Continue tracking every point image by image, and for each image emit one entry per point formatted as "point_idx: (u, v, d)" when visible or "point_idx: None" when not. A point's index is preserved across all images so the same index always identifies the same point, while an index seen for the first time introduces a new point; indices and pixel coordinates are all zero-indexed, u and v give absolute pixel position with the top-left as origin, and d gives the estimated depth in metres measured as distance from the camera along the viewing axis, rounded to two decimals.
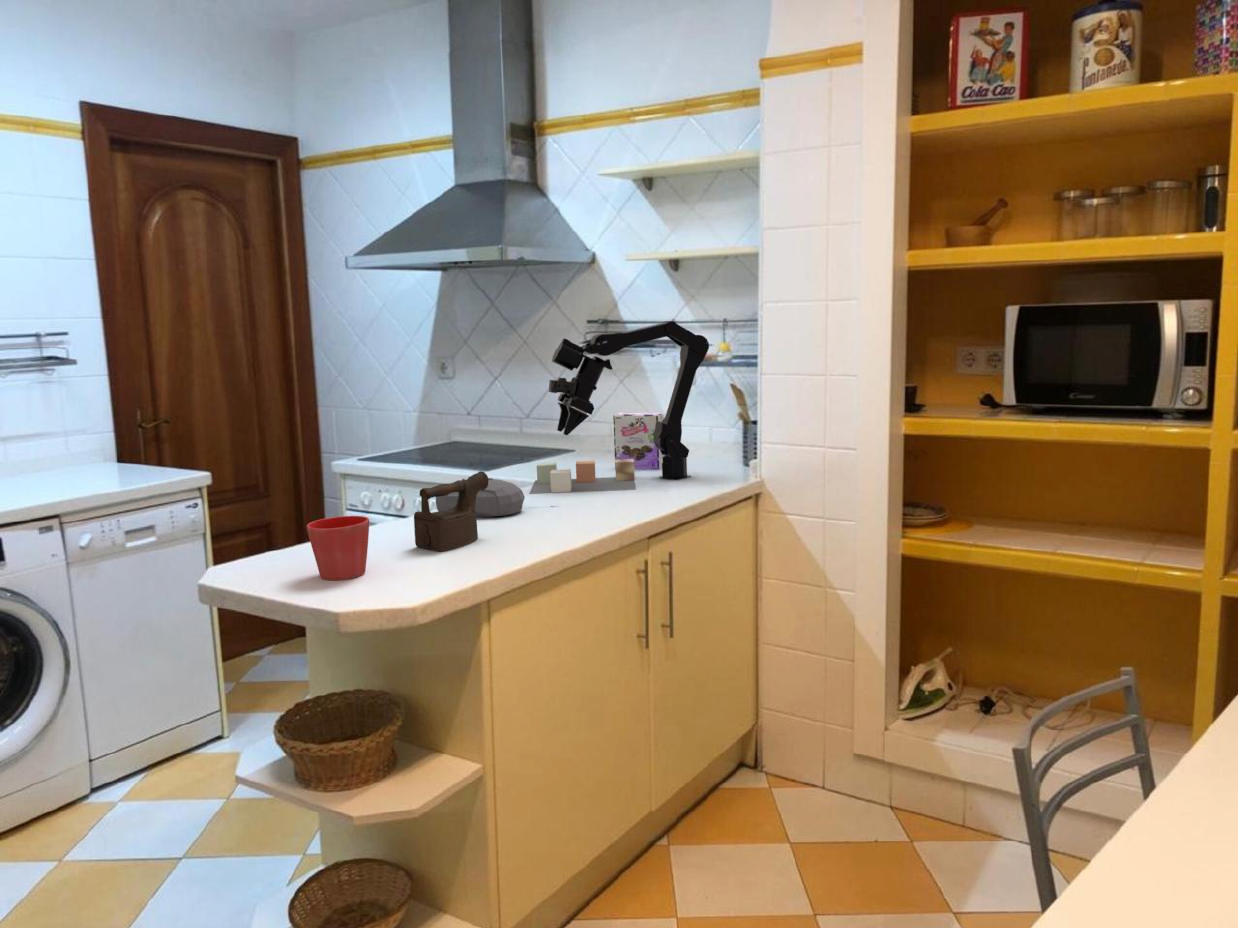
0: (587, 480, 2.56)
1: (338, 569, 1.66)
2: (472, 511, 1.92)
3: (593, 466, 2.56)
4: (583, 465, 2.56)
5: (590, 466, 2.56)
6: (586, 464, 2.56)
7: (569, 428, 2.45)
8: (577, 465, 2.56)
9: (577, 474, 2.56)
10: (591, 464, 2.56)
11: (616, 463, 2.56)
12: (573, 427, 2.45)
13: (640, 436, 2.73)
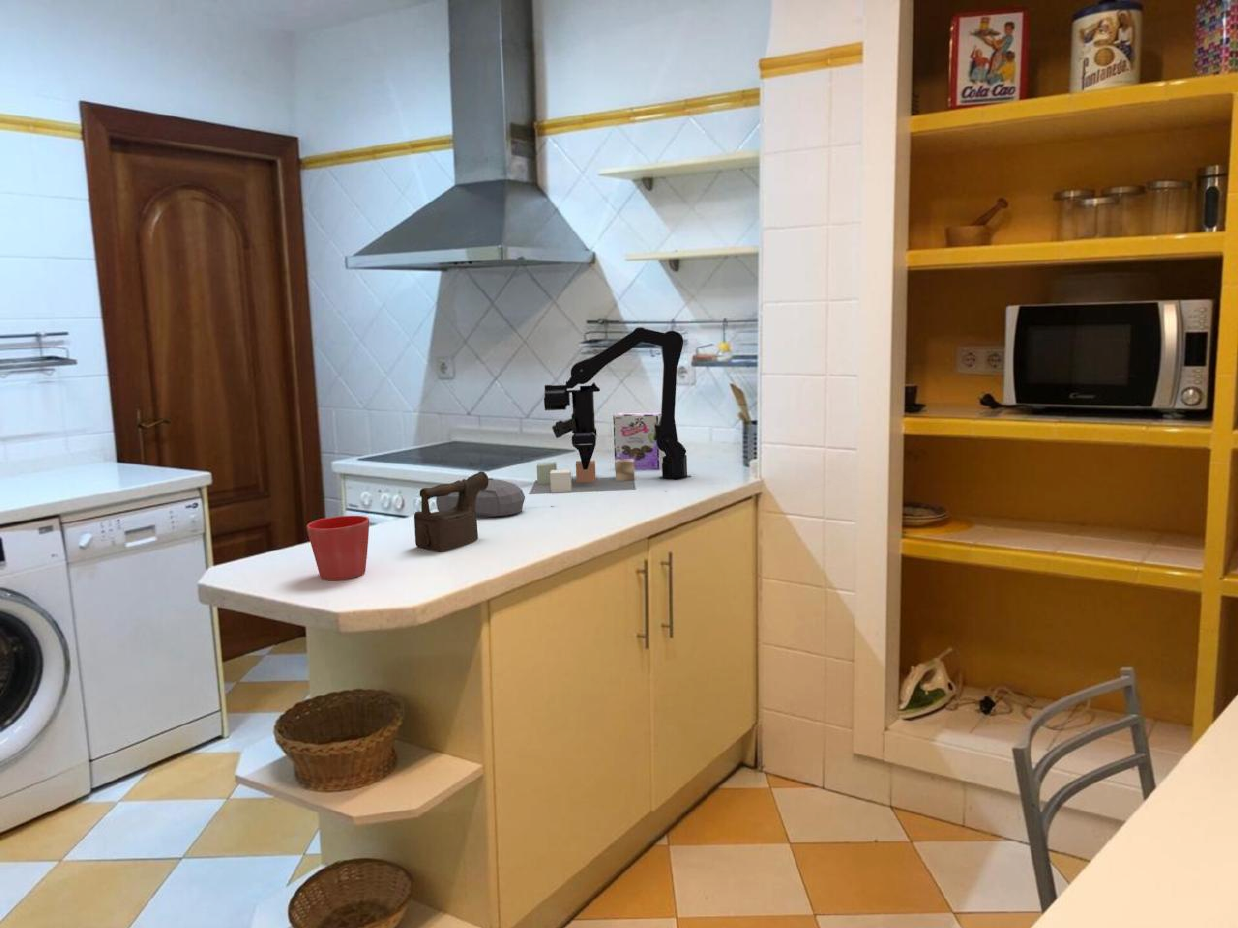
0: (587, 480, 2.56)
1: (338, 569, 1.66)
2: (472, 511, 1.92)
3: (593, 466, 2.56)
4: None
5: (590, 466, 2.56)
6: None
7: (585, 462, 2.53)
8: (577, 465, 2.56)
9: (577, 474, 2.56)
10: (591, 464, 2.56)
11: (616, 463, 2.56)
12: (588, 460, 2.52)
13: (640, 436, 2.73)
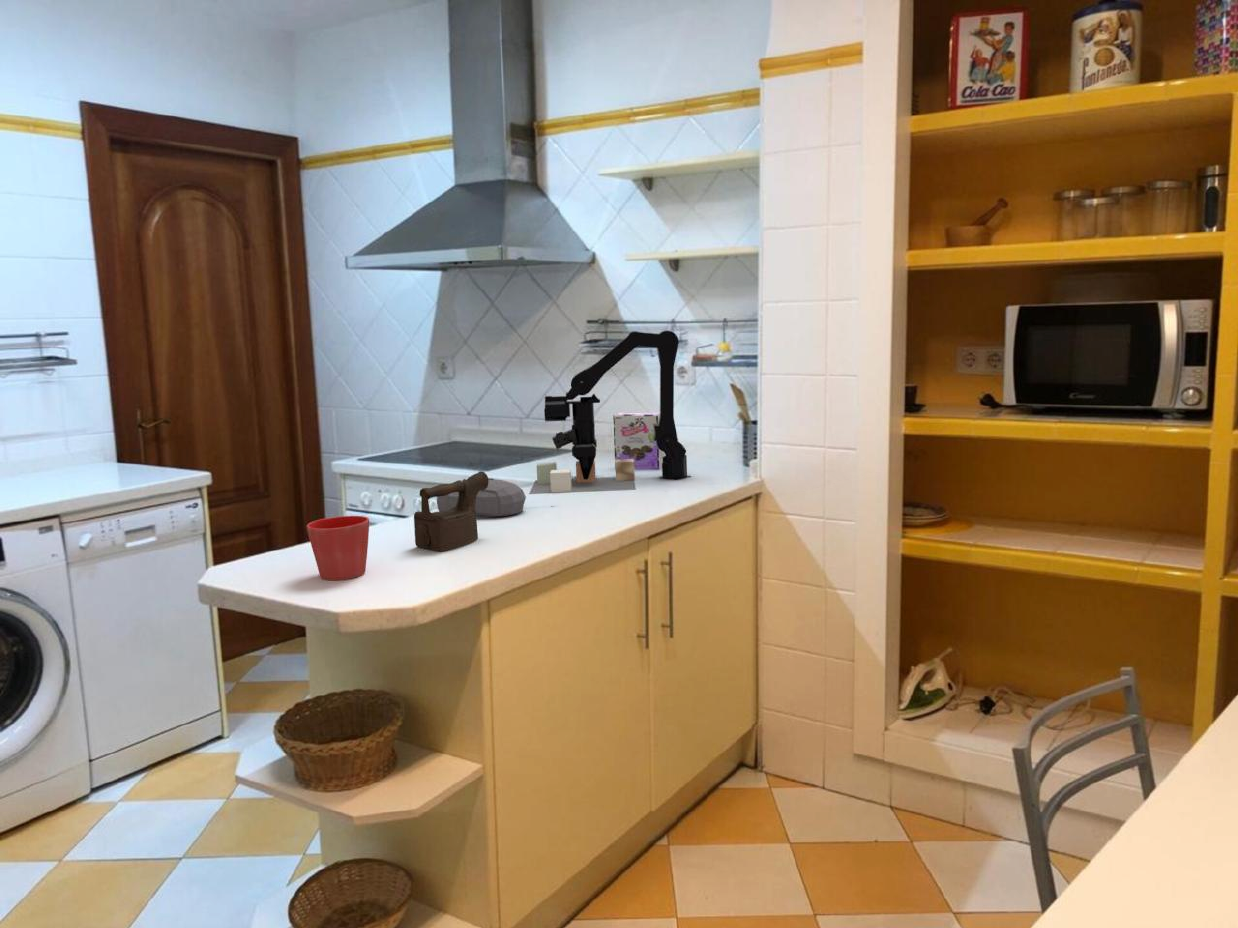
0: (587, 480, 2.56)
1: (338, 569, 1.66)
2: (472, 511, 1.92)
3: (593, 466, 2.56)
4: None
5: None
6: None
7: (586, 472, 2.55)
8: (577, 465, 2.56)
9: (577, 474, 2.56)
10: None
11: (616, 463, 2.56)
12: (588, 470, 2.55)
13: (640, 436, 2.73)
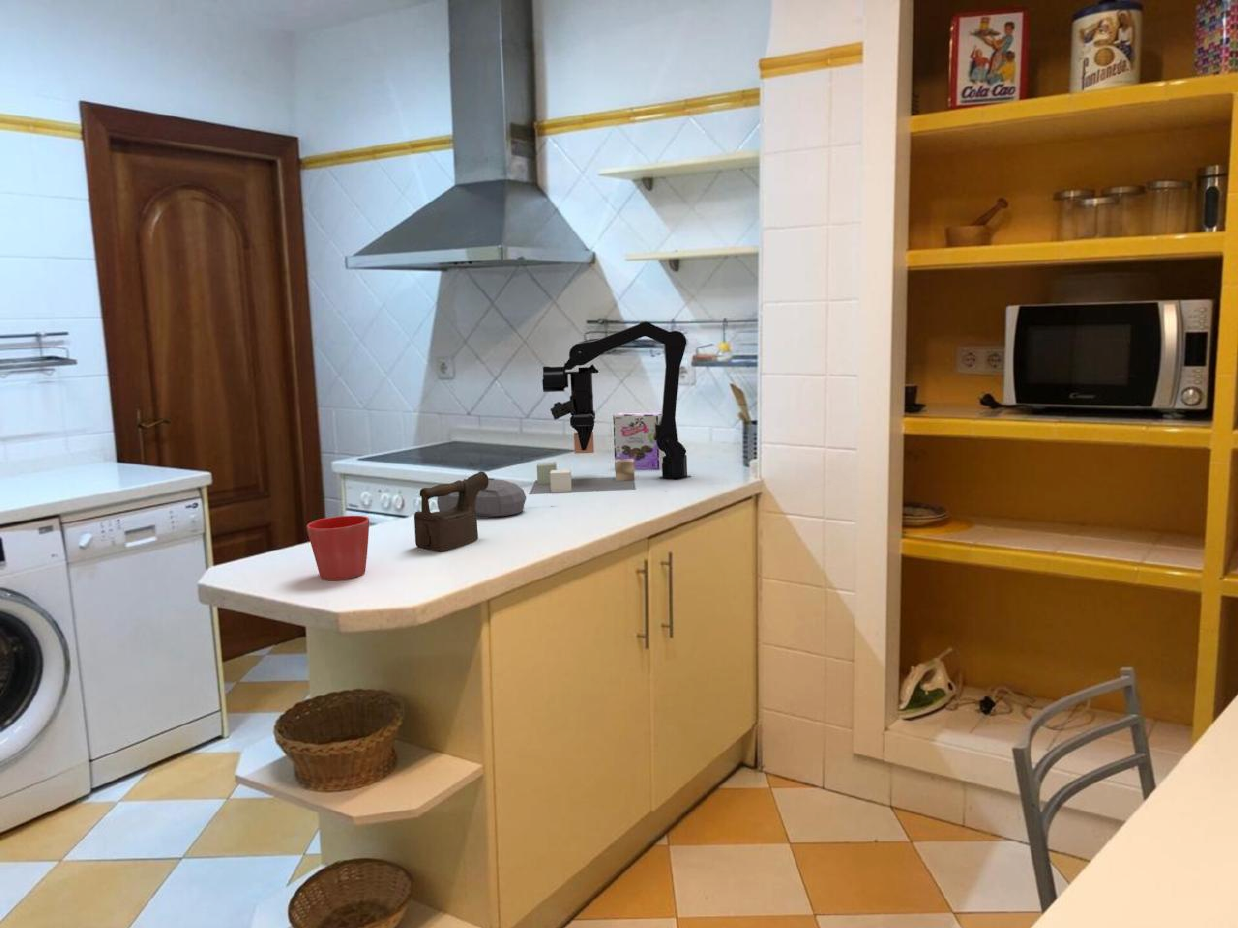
0: (585, 451, 2.55)
1: (338, 569, 1.66)
2: (472, 511, 1.92)
3: (591, 437, 2.55)
4: None
5: None
6: None
7: (584, 443, 2.54)
8: (575, 436, 2.55)
9: (575, 445, 2.55)
10: None
11: (616, 463, 2.56)
12: (587, 440, 2.54)
13: (640, 436, 2.73)
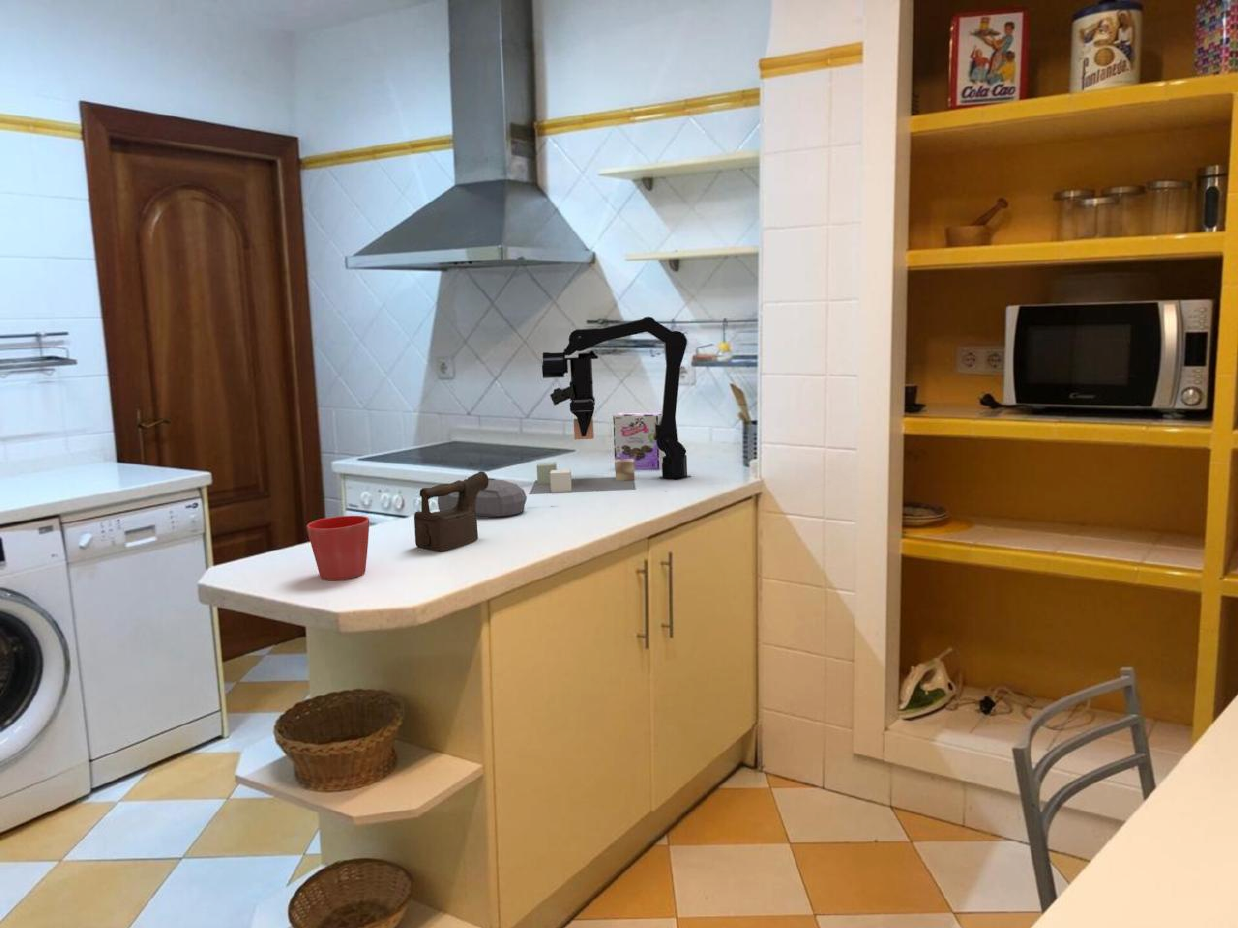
0: (585, 437, 2.55)
1: (338, 569, 1.66)
2: (472, 511, 1.92)
3: (591, 423, 2.54)
4: None
5: None
6: None
7: (584, 429, 2.53)
8: (575, 422, 2.54)
9: (575, 431, 2.54)
10: None
11: (616, 463, 2.56)
12: (586, 426, 2.53)
13: (640, 436, 2.73)
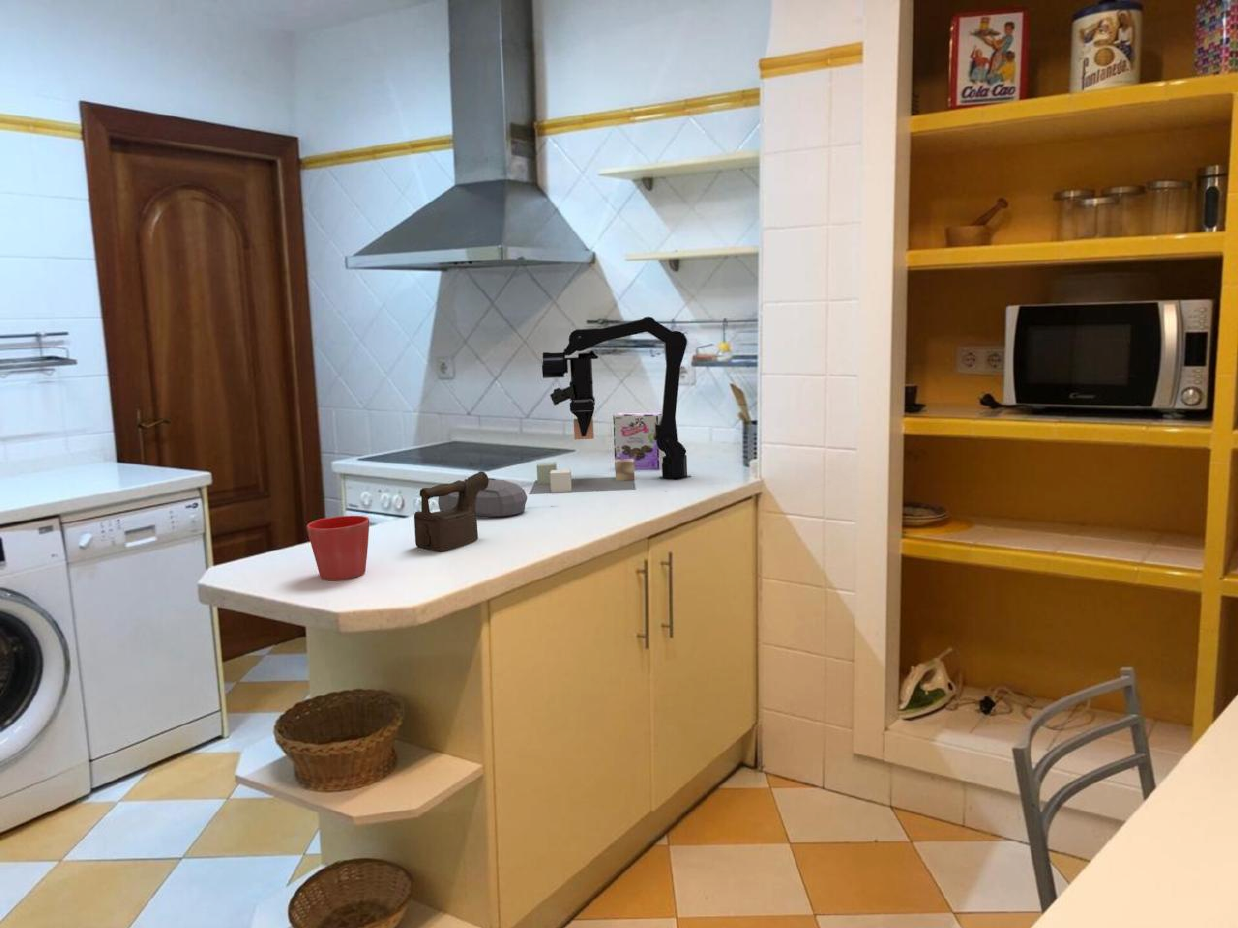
0: (585, 437, 2.55)
1: (338, 569, 1.66)
2: (472, 511, 1.92)
3: (591, 423, 2.54)
4: None
5: None
6: None
7: (584, 429, 2.53)
8: (575, 422, 2.54)
9: (575, 431, 2.54)
10: None
11: (616, 463, 2.56)
12: (586, 426, 2.53)
13: (640, 436, 2.73)
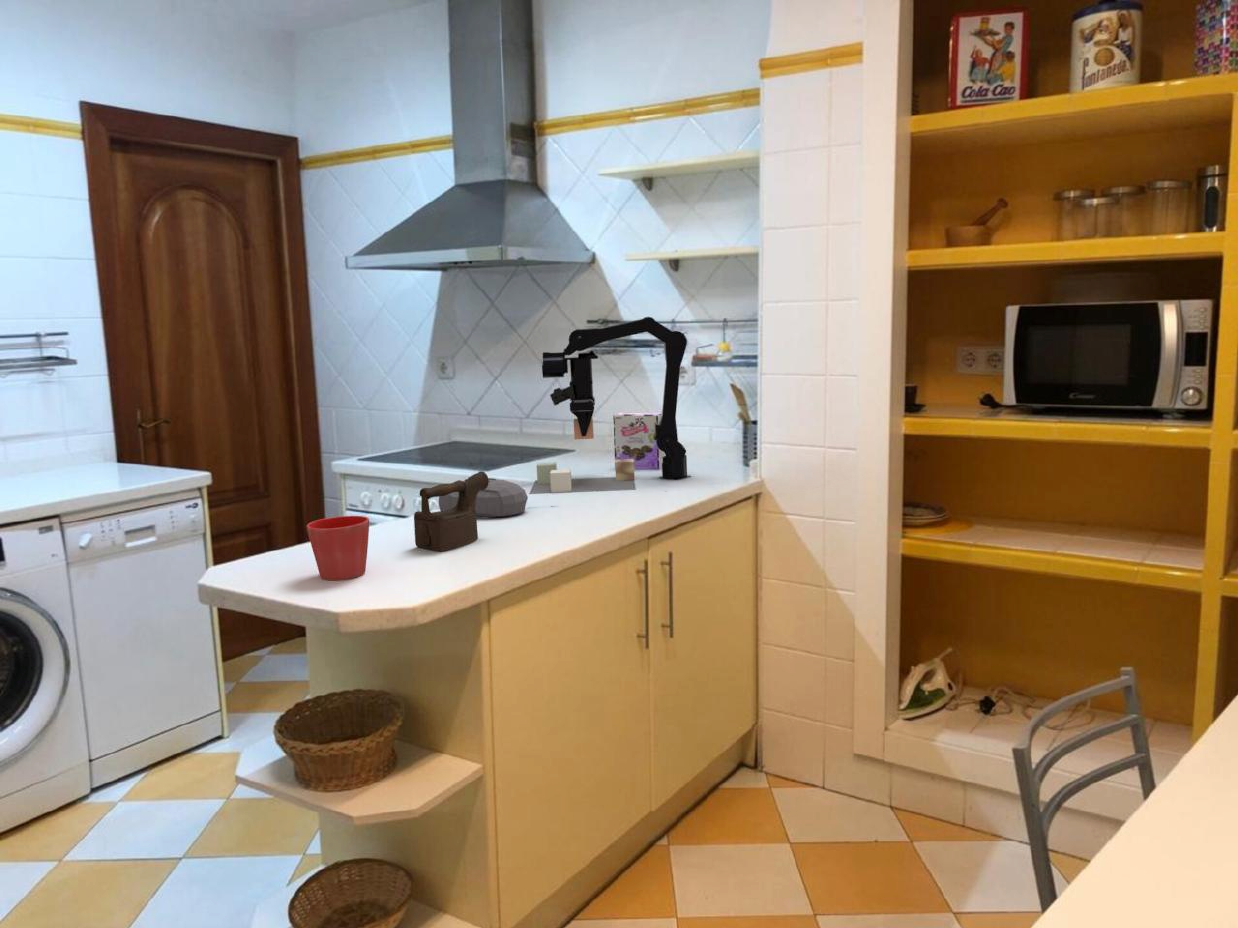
0: (585, 437, 2.55)
1: (338, 569, 1.66)
2: (472, 511, 1.92)
3: (591, 423, 2.54)
4: None
5: None
6: None
7: (584, 429, 2.53)
8: (575, 422, 2.54)
9: (575, 431, 2.54)
10: None
11: (616, 463, 2.56)
12: (586, 426, 2.53)
13: (640, 436, 2.73)
